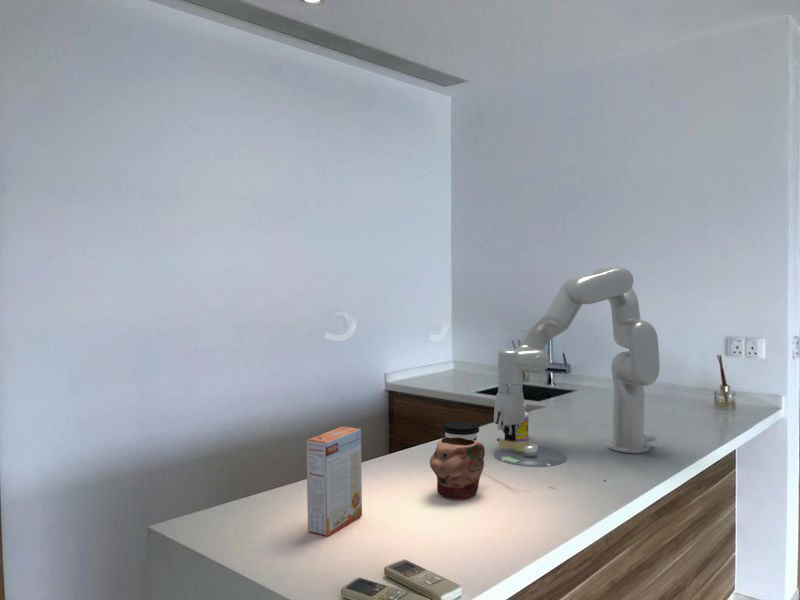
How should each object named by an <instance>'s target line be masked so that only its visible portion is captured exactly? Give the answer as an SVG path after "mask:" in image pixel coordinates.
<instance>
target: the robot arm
mask: <svg viewBox="0 0 800 600" xmlns="http://www.w3.org/2000/svg"><path fill="white" fill-rule="evenodd" d="M633 285H634V276H633V274H632V272H631V271H630V270H628V269H627V268H625V267H622V266H621V267H620V266H618V267H617V266H607V267H605V266H603V267H598V269H597V268H596V269H595V270H594V271H593V272H592V274H591V275H587V276H572V277H568V278H567V279H566V280H565V281H564V282H563V283H562V285H561V287H560V288H559V290H558V292H557V293H556V295H555V296H554V298H553V300H552V301H551V303H550V305H549V306H548V308H547V310H546V312H545V313H544V314H543V315H542V317H541V318H540V319H539V320H538V321H537V322H536V323H535V324H534V325H533V326H532V327H531V328H530V330H529V331H528V332H527V334H525V336H524V338H523V339H522V341H521V343H520V344H519V346H518V348H505V349H504V348H503V349H500V350H499V351H498V355H497V356H498V357H497V360H498V363H497V369H498V370H497V371H498V372H497V380H498V381H497V382H498V383H497V393H496V395H495V401H494V409H493V424H495V425H497V430H500V431H502V432H503V434H504V439H509V440H515V441H516V433H517V429H518V427H520V426H521V425H522V424H523V423H522V422H523V421H524V418H525V411H526V408H525V407H524V404H525V398H524V393H523V373H532V374H539V373H543V372H545V371H546V370H548V368H549V366H550V357H549V355H548V354H547V353H546V352H545V351H543V350H544V349H545V347H546V345H547V344H548V343H549V342H550V341H551V340H552V339H553V338H555V337H556V336H559V335H560V334H562V333H564V332H565V331H568V329H569V328H570V326H571V325H572V323H573V322H574V319H575V318H576V316H577V314H578V312H579V311H580V309H581V307H582V306H583V305H593V304H597V303H600V302H603V301H607V300H608V302H609V305H610V308H611V319H612V320H611V322H612V334H613V340H614V343H616V344H617V345H618V346H619V347H621V348H626V349H628V351H621V352H619V353H617V354H616V355H615V356H614V357H613V359H612V362H611V365H610V366H611V369H610V370H611V376H612V383H613V384H612V385H613V400H612V402H613V405H612V407H613V409H612V410H613V411H612V412H613V413H612V414H613V415H612V440H611V441H609V442H608V443H607V447H608V448H609V450H612V451H613V452H619V453H624V454H644V453H647V452H649V449H650V446H649V445H647V443H649V442H651V443H652V442H656V436H655V435H654V434H652V435H647V434H645V402H646V401H645V398H646V395H645V388H644V387H647V386H651V385H653V384H654V383H656V381H657V380H658V378H659V375H660V368H661V367H660V351H659V350H660V349H659V338H658V337H659V336H658V333H657V331H656V329H655V327H654V326H653V324H651V323H650V322H648V321H645V320H642V319H641V312H640V305H639V299H638V296H637V294H636V292H635V290H634V288H633Z"/></svg>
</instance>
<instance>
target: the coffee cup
mask: <svg viewBox="0 0 800 600" xmlns="http://www.w3.org/2000/svg"><path fill="white" fill-rule="evenodd" d="M442 432H443V433H444V435H445V436H444V438H445V437H449V438H450V437H458V438H467V439H471V440H475V441H477V437H478V436H477V434H478V433H479V432H480V428H479V425H478V424H476V423H475V422H471V421H465V420H464V421H463V420H462V421H461V420H457V421H448V422H446V423H444V426H442Z"/></svg>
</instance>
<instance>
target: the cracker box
mask: <svg viewBox="0 0 800 600" xmlns="http://www.w3.org/2000/svg"><path fill="white" fill-rule="evenodd" d="M305 441H306V442H305V445H306V449H305V451H306V452H305V453H306V456H305V457H306V495H307V496H306V497H307V498H306V499H307V532H308V533H312V534H316V535H321V536H324V537H329V536H331V535H332V534H334V533H336V532H337V531H339V530H340V529H342V528H344V527H346V526H348V525H349V524H350V523H353V522H354V521H355V520H358V519H359V518H361V517H362V516H363V496H362V495H363V489H362V485H363V483H362V478H363V477H362V430H361V428H355V427H350V426H340V427H337V428H334V429H332V430H329V431H327V432H324V433H322V434H318V435H316V436H314V437H310V438H308V439H306V440H305Z"/></svg>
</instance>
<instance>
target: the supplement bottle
mask: <svg viewBox="0 0 800 600" xmlns="http://www.w3.org/2000/svg"><path fill="white" fill-rule="evenodd" d="M524 407H525V409H526V403H524ZM522 423H523V424H522V425H521V426H520V427H518V429H517V433H516V441H522V442H526V441H528V440H529V413H528V412H527V411H526V410H525V418H524V421H523V422H522Z"/></svg>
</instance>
